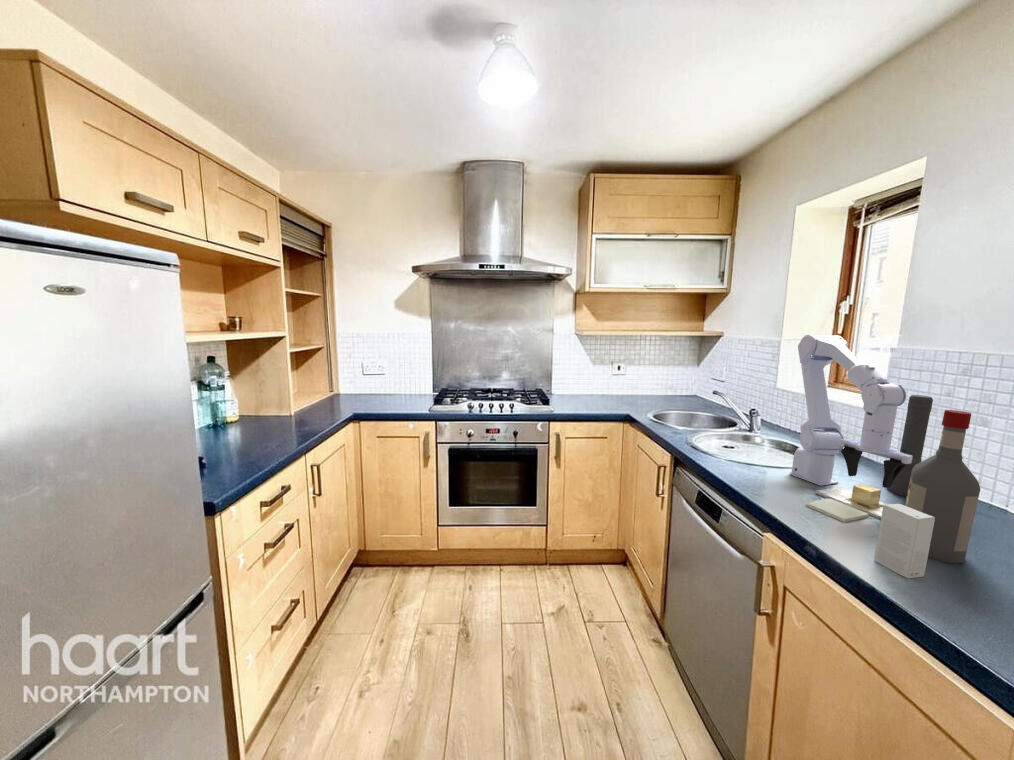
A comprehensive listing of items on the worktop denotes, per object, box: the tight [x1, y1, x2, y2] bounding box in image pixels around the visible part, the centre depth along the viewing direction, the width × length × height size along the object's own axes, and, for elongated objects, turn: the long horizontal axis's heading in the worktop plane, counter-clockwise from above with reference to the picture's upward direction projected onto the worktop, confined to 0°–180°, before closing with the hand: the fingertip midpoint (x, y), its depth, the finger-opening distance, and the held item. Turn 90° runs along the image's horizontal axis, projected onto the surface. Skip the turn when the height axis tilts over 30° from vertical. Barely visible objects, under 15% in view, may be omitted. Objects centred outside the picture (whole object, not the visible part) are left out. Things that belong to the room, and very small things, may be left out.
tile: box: [805, 498, 870, 523], centre depth 102 cm, size 9×9×1 cm
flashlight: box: [886, 394, 934, 497], centre depth 113 cm, size 7×28×7 cm
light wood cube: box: [850, 483, 882, 509], centre depth 105 cm, size 4×4×5 cm
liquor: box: [904, 409, 981, 564], centre depth 83 cm, size 9×9×30 cm
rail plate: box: [815, 486, 888, 520], centre depth 106 cm, size 18×10×1 cm, turn 20°
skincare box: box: [873, 503, 935, 579], centre depth 77 cm, size 6×4×12 cm
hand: (868, 481), depth 105 cm, fingers open, 7 cm apart
